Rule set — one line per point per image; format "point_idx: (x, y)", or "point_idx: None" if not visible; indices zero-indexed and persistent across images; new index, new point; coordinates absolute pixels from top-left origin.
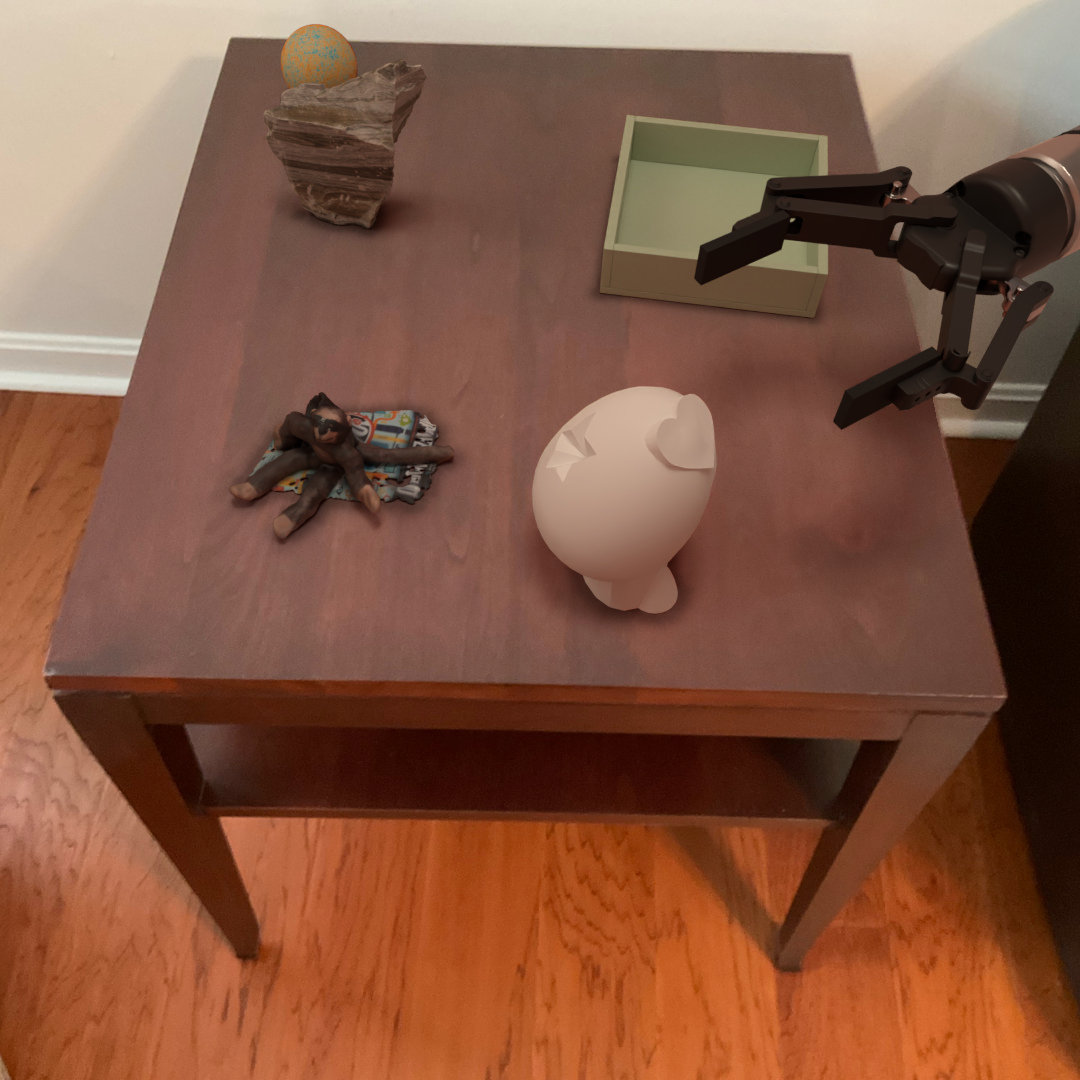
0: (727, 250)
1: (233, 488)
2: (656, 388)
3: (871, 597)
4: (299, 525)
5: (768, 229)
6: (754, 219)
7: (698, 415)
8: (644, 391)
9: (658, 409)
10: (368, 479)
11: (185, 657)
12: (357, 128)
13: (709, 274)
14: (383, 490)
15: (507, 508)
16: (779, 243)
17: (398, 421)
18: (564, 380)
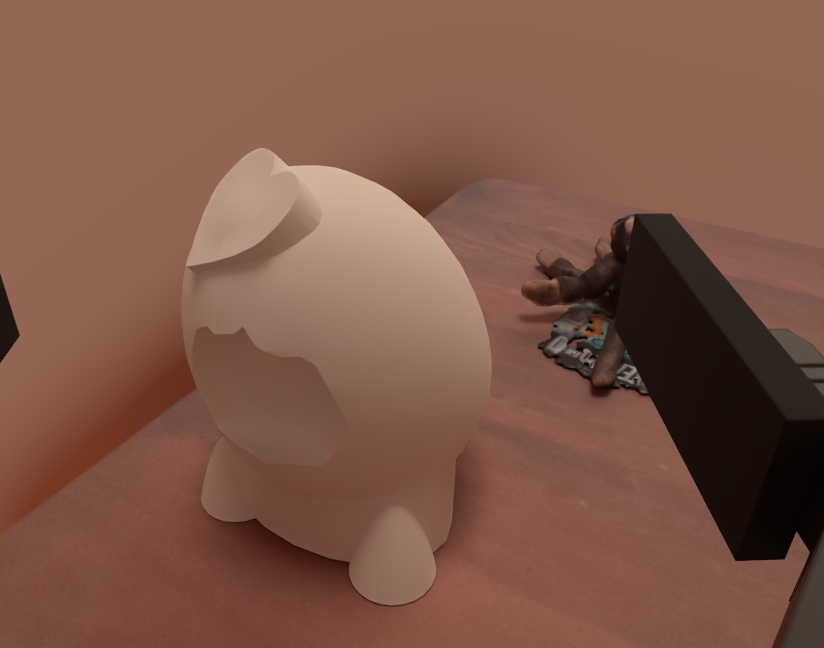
0: (655, 277)
1: (607, 235)
2: (373, 217)
3: None
4: (549, 273)
5: (727, 363)
6: (820, 384)
7: (263, 218)
8: (374, 199)
9: (309, 173)
10: (567, 287)
11: (449, 211)
12: None
13: (625, 312)
14: (567, 327)
15: (484, 413)
16: (735, 508)
17: None
18: (732, 576)
